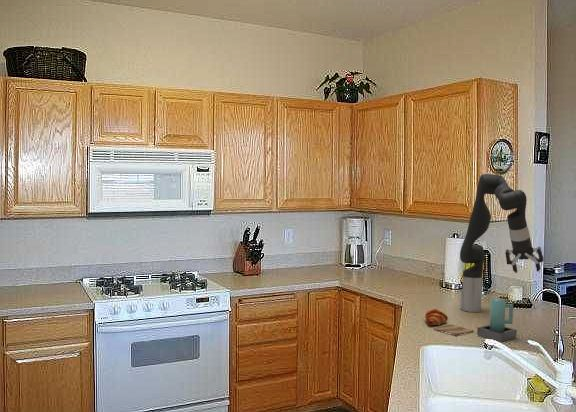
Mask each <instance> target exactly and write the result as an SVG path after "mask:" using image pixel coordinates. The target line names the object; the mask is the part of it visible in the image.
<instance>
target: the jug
mask: <svg viewBox="0 0 576 412" xmlns="http://www.w3.org/2000/svg"><path fill="white" fill-rule="evenodd" d="M489 299H490V300H489V325H490V327H489V330H492V331H496V332H504V331H505V327H506V325H513V321H514V320H513V319H514V318H513V317H514V304H513V303H506V301H507V300H506V299H505V298H503V297H502V298H501V297H491V298H489ZM506 308H508V319H507V320H506Z"/></svg>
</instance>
